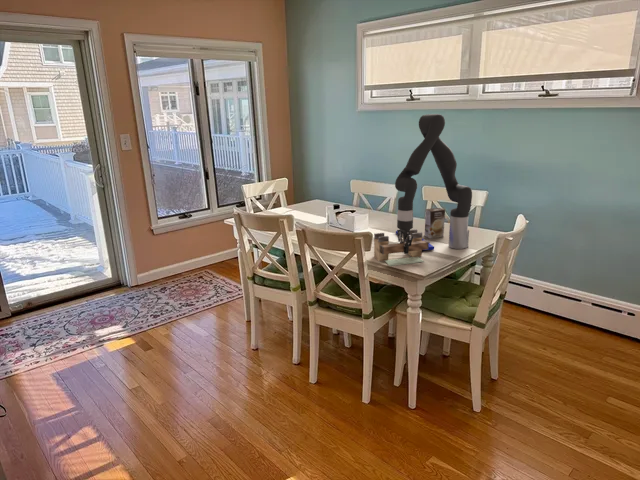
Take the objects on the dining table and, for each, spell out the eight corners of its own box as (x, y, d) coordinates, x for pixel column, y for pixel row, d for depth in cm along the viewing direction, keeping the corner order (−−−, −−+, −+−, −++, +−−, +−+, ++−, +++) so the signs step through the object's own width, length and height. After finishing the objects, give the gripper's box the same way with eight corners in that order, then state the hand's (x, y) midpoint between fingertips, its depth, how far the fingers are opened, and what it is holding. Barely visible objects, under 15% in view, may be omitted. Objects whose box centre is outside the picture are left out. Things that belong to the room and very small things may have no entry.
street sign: (415, 253, 233) (434, 251, 234) (416, 247, 232) (434, 245, 233) (395, 234, 266) (411, 232, 267) (395, 229, 265) (411, 228, 266)
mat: (417, 257, 225) (417, 256, 225) (424, 261, 219) (424, 261, 219) (384, 261, 221) (384, 260, 221) (389, 266, 215) (389, 265, 215)
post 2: (415, 251, 233) (416, 229, 229) (421, 256, 227) (422, 232, 223) (406, 252, 232) (407, 230, 228) (412, 257, 226) (413, 233, 222)
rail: (425, 246, 222) (425, 240, 221) (428, 249, 219) (428, 242, 218) (379, 252, 217) (380, 245, 216) (382, 254, 214) (382, 247, 213)
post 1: (383, 255, 229) (383, 232, 226) (388, 260, 223) (388, 236, 219) (374, 256, 228) (374, 233, 225) (379, 261, 222) (379, 237, 218)
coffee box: (430, 238, 253) (431, 211, 249) (424, 235, 259) (425, 209, 254) (444, 236, 256) (445, 209, 251) (437, 233, 262) (439, 207, 257)
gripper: (418, 221, 208) (417, 256, 213) (406, 214, 221) (405, 247, 226) (403, 222, 206) (403, 257, 211) (392, 215, 219) (391, 248, 224)
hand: (404, 252), depth 219 cm, fingers closed on rail, 3 cm apart
